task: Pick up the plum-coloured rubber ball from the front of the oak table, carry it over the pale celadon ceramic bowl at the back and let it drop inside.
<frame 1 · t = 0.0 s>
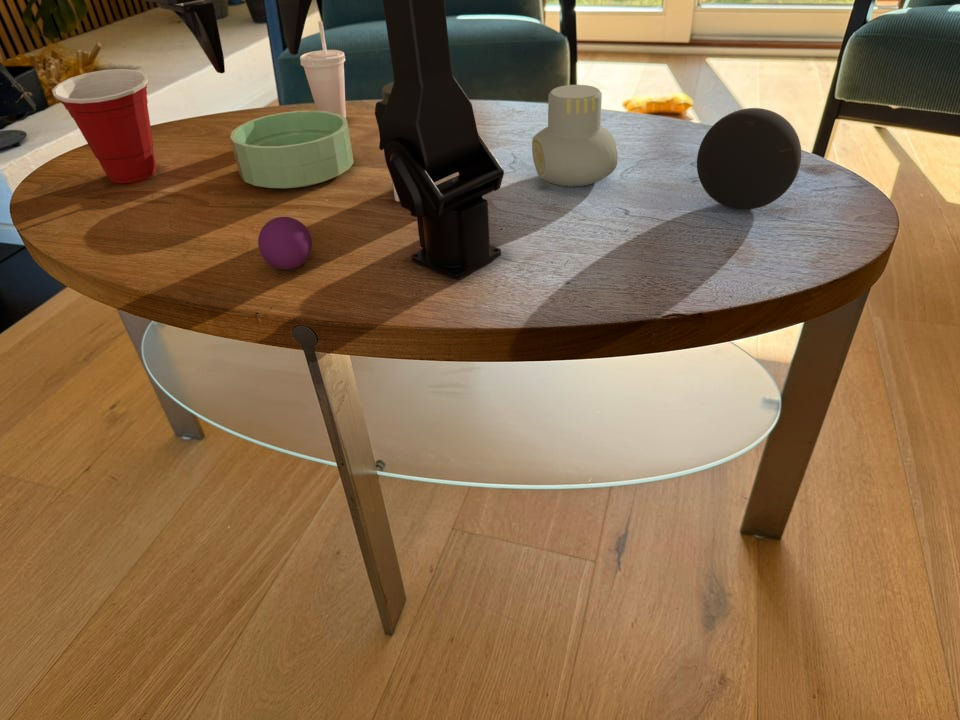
hand: (258, 63, 77), 15 cm above the table, tool pointing down, fingers open, 9 cm apart
smoothie: (333, 124, 106), on the table
bowl: (298, 170, 91), on the table
ball: (285, 243, 68), point 2 cm above the table
air freshener: (572, 179, 84), on the table
speaker: (739, 207, 76), on the table
jar: (429, 193, 83), on the table
plastic cup: (133, 177, 92), on the table
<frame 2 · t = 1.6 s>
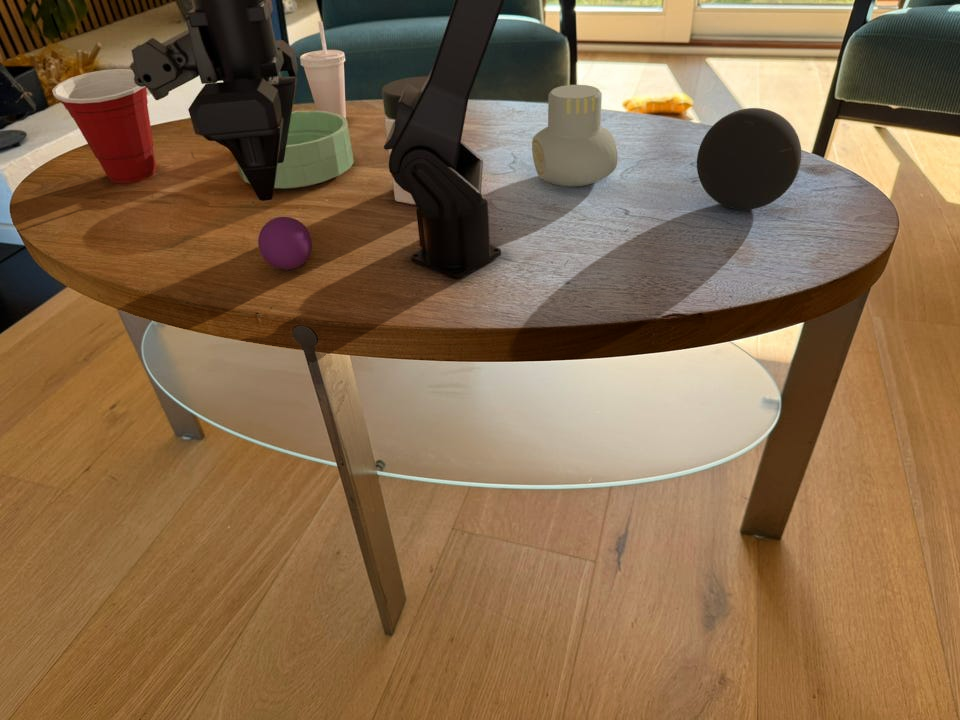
hand: (272, 180, 65), 9 cm above the table, tool pointing down, fingers open, 9 cm apart
nothing on the table moved.
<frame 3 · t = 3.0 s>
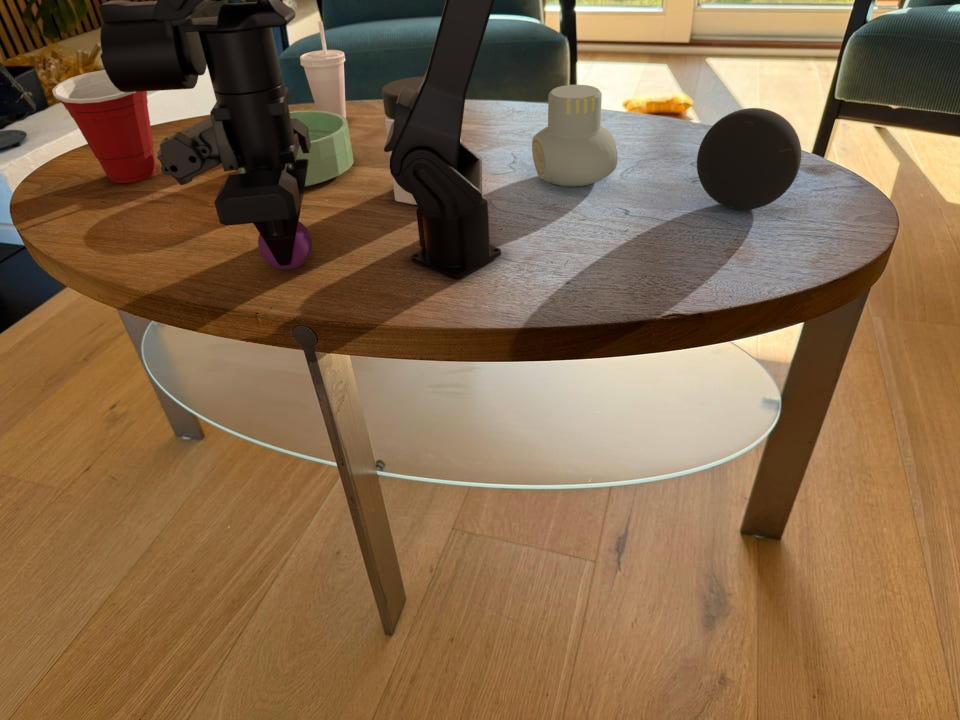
hand: (287, 252, 69), 2 cm above the table, tool pointing down, fingers closed on ball, 5 cm apart
ball: (285, 243, 68), point 2 cm above the table, touching gripper
everything else where it was.
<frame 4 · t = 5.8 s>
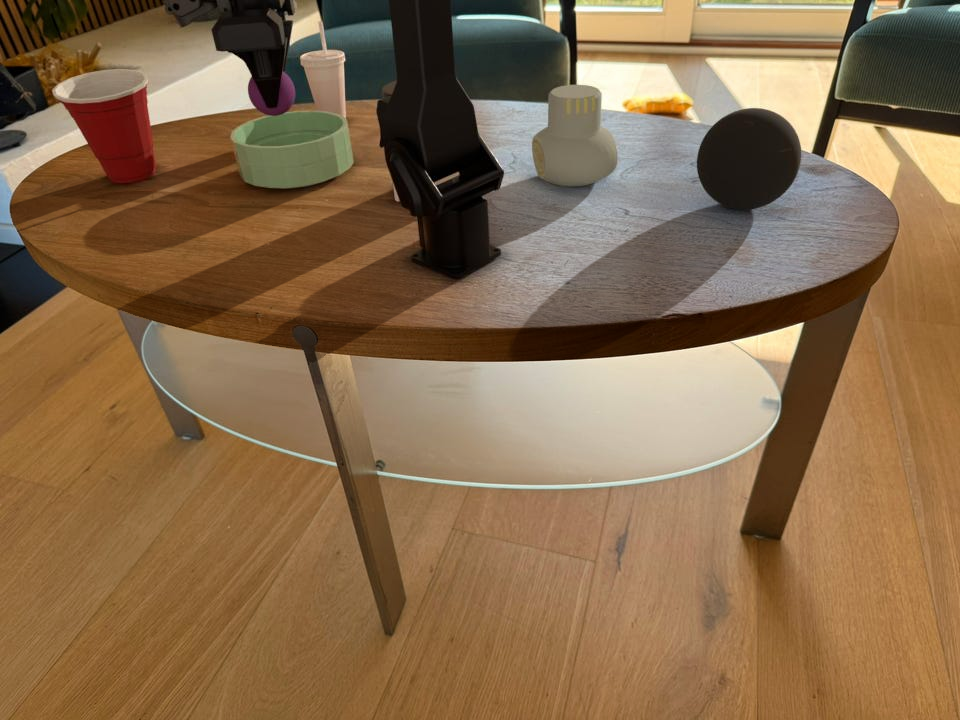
hand: (274, 100, 78), 11 cm above the table, tool pointing down, fingers closed on ball, 5 cm apart
ball: (271, 91, 78), point 12 cm above the table, touching gripper
everything else where it was.
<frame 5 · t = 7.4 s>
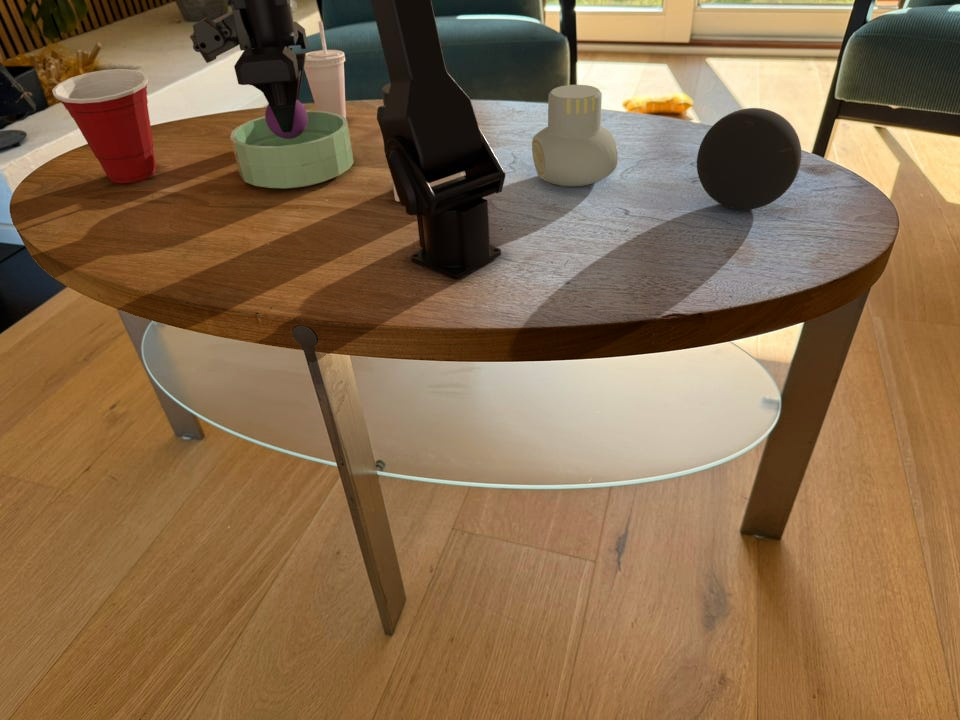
hand: (289, 125, 87), 6 cm above the table, tool pointing down, fingers closed on ball, 5 cm apart
ball: (286, 117, 87), point 7 cm above the table, touching gripper
everything else where it was.
when the fingers open (2 cm above the table, at t = 8.8 s): ball stays where it is, resting on bowl.
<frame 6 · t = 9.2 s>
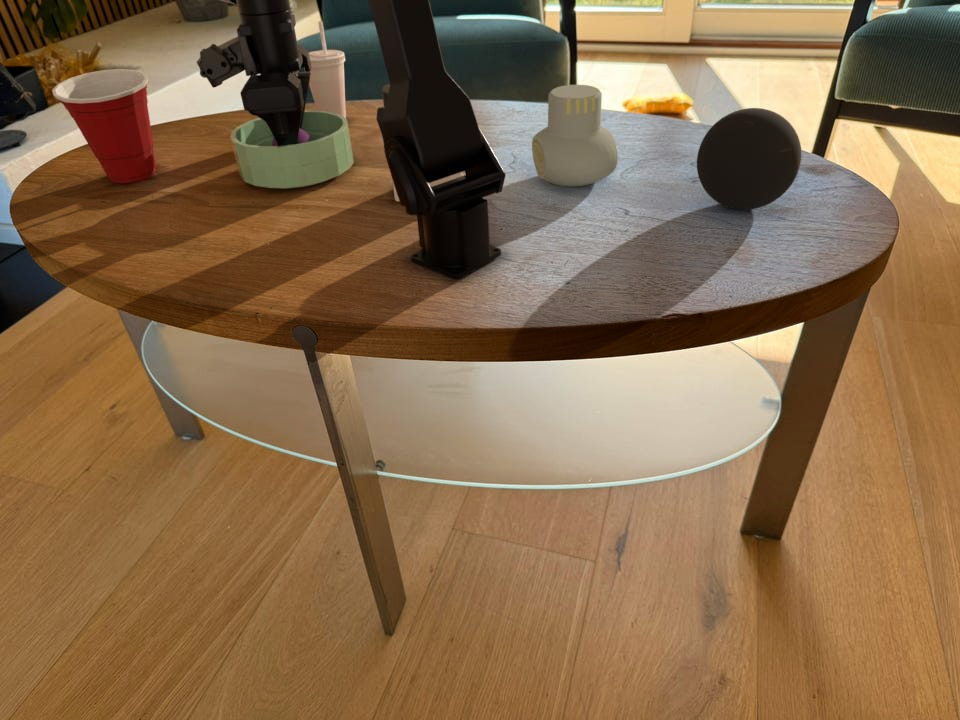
hand: (293, 147, 89), 3 cm above the table, tool pointing down, fingers open, 9 cm apart
ball: (292, 147, 89), point 3 cm above the table, touching bowl
everything else where it was.
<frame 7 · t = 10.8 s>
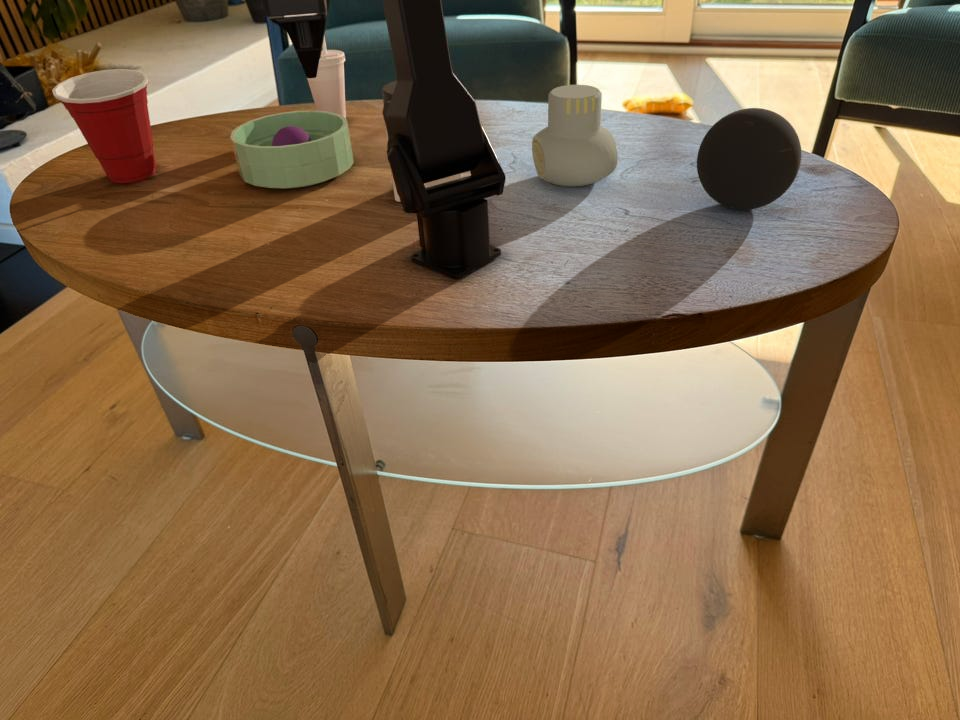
hand: (313, 68, 85), 12 cm above the table, tool pointing down, fingers open, 9 cm apart
nothing on the table moved.
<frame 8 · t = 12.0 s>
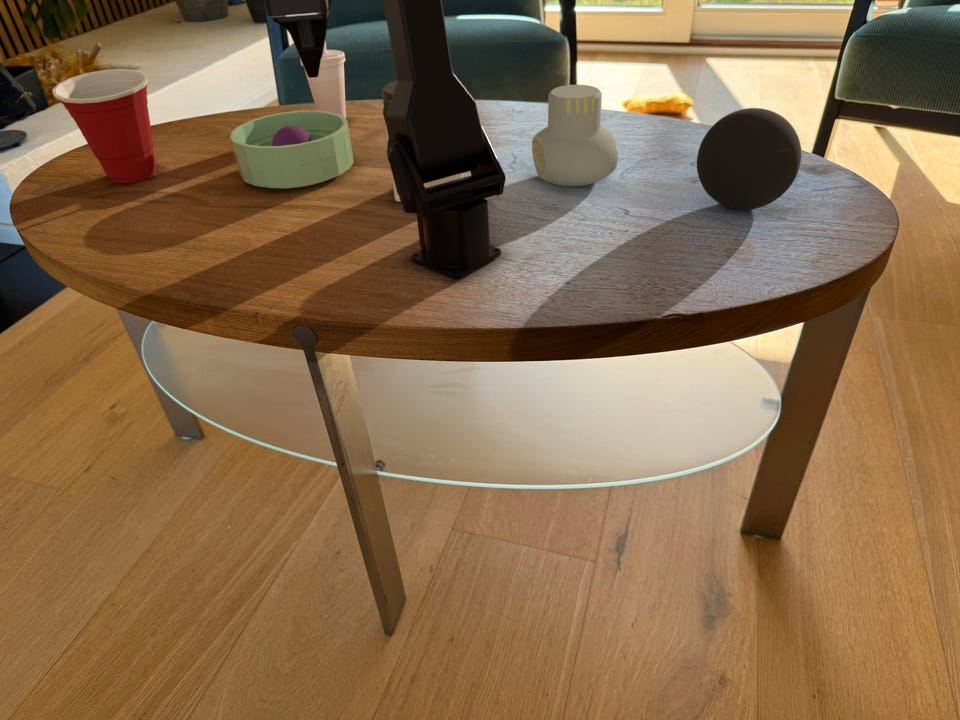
hand: (315, 67, 85), 12 cm above the table, tool pointing down, fingers open, 9 cm apart
nothing on the table moved.
at the end: ball inside the target area in the bowl (0.1 cm from its centre), point 3.1 cm above the bowl's base; the gripper is holding nothing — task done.
